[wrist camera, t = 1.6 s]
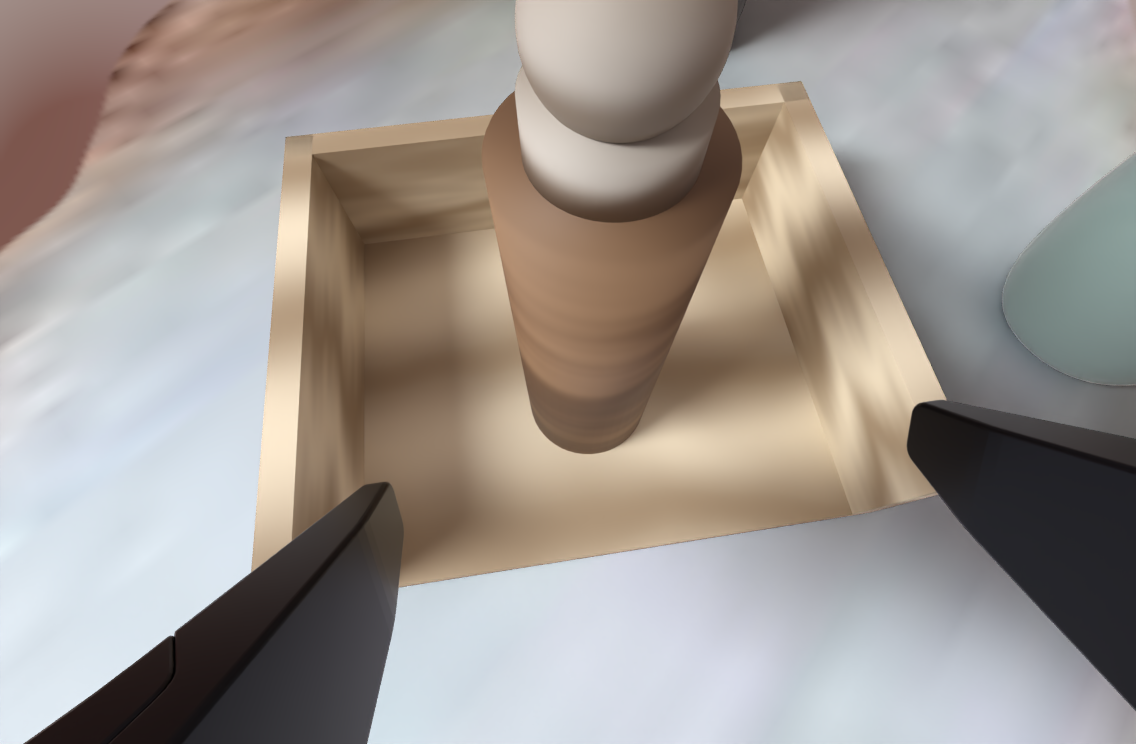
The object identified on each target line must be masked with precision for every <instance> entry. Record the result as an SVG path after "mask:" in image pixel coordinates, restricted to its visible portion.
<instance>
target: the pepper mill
mask: <svg viewBox="0 0 1136 744" xmlns="http://www.w3.org/2000/svg"><path fill="white" fill-rule="evenodd" d="M737 8H738V0H516V7H515V31H516V39H517V46H518V52H519V55H520V59H521V62H522V67H521V69H520V71H519V73H518V76H517V80H516V84H515V91H514V92H513V93H512V94H510V95H509V96H508V97H507V98H506V99H505V100H504V102H503V103H502V104H501V105H500V106H499V107H498V109H497V110H496V112H495V113H494V115H493V116H492V118H491V120H490V122H489V125H488V127H487V129H486V132H485V136H484V139H483V145H482V168H483V173H484V178H485V183H486V188H487V193H488V198H489V203H490V208H491V213H492V218H493V222H494V227H495V232H496V237H497V242H498V247H499V252H500V257H501V262H502V267H503V272H504V277H505V282H506V287H507V292H508V297H509V302H510V307H511V311H512V316H513V321H514V326H515V331H516V336H517V341H518V346H519V351H520V356H521V361H522V366H523V371H524V376H525V381H526V386H527V391H528V395H529V400H530V405H531V410H532V414H533V417H534V420H535V422H536V424H537V426H538V428H539V429H540V430H541V432H542V433H543V434H544V435H545V436H546V437H547V438H548V439H549V440H550V441H551V442H552V443H554V444H555V445H557V446H559V447H560V448H562V449H565V450H567V451H570V452H574V453H579V454H597V453H602V452H606V451H608V450H611V449H613V448H615V447H617V446H619V445H620V444H622V443H623V442H624V441H626V440H627V439H628V438H629V437H630V436H631V434H632V433H633V432H634V431H635V429H636V427H637V426H638V424H639V422H640V419H641V417H642V414H643V412H644V410H645V407H646V405H647V403H648V400H649V398H650V396H651V393H652V391H653V388H654V386H655V384H656V381H657V379H658V377H659V374H660V372H661V369H662V367H663V365H664V362H665V360H666V358H667V355H668V353H669V350H670V348H671V346H672V343H673V341H674V339H675V336H676V334H677V331H678V329H679V327H680V324H681V322H682V320H683V317H684V315H685V312H686V310H687V308H688V305H689V303H690V301H691V298H692V296H693V294H694V291H695V289H696V286H697V284H698V282H699V279H700V277H701V275H702V272H703V270H704V267H705V265H706V263H707V260H708V258H709V256H710V253H711V251H712V248H713V246H714V244H715V241H716V239H717V237H718V234H719V232H720V229H721V227H722V225H723V222H724V220H725V218H726V215H727V213H728V211H729V208H730V206H731V203H732V201H733V199H734V196H735V194H736V191H737V189H738V186H739V183H740V178H741V173H742V152H741V145H740V142H739V139H738V136H737V133H736V130H735V128H734V126H733V124H732V122H731V120H730V119H729V118H728V116H727V115H726V113H725V112H724V110H723V109H722V108H721V107H720V99H721V94H720V87H719V83H718V78H719V76H720V74H721V72H722V70H723V68H724V66H725V63H726V61H727V58H728V55H729V53H730V50H731V46H732V41H733V37H734V33H735V28H736V21H737Z"/></svg>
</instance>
